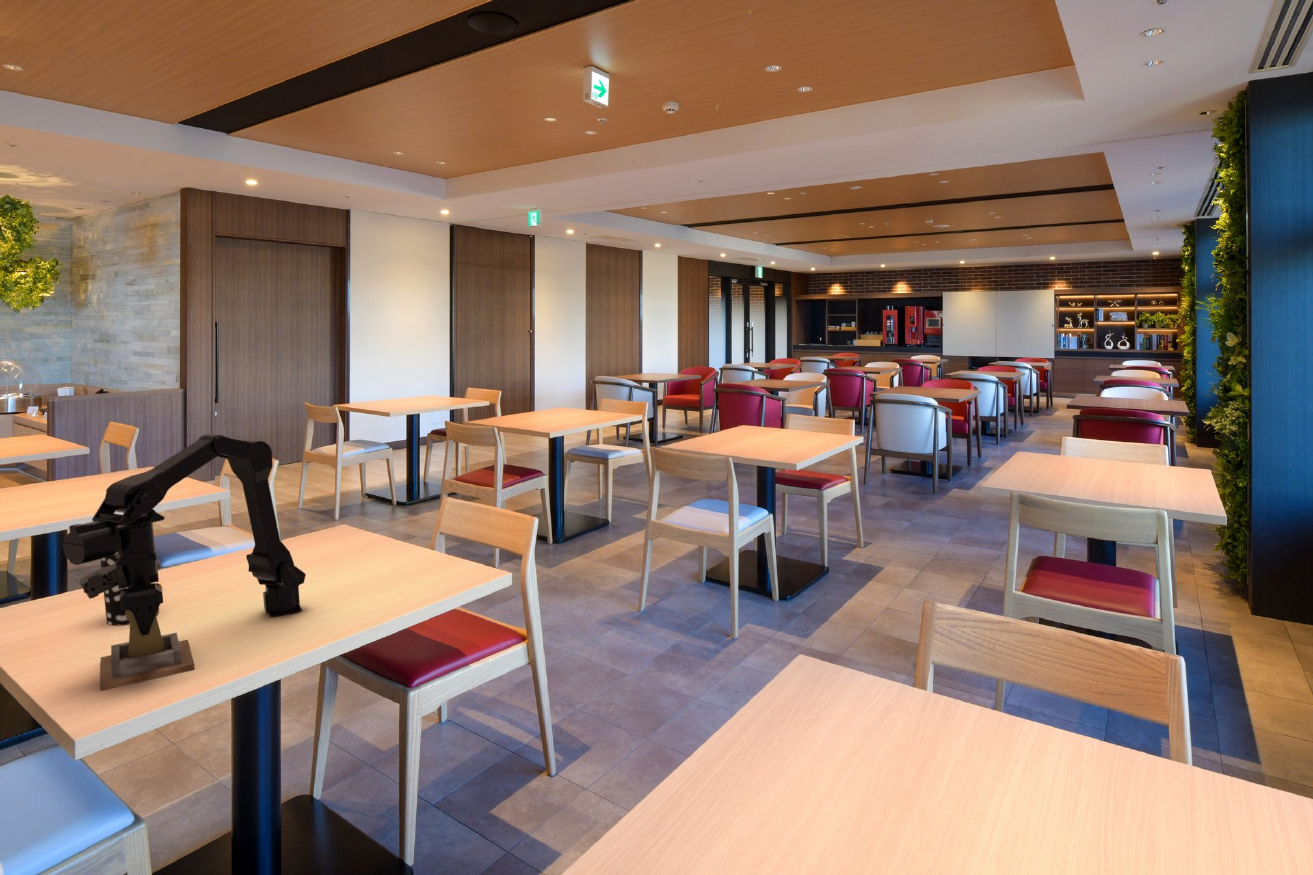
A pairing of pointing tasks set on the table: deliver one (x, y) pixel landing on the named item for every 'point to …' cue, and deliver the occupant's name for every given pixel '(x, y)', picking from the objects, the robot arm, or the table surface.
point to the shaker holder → (145, 663)
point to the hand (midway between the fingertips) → (144, 630)
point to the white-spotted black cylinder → (113, 599)
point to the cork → (144, 638)
